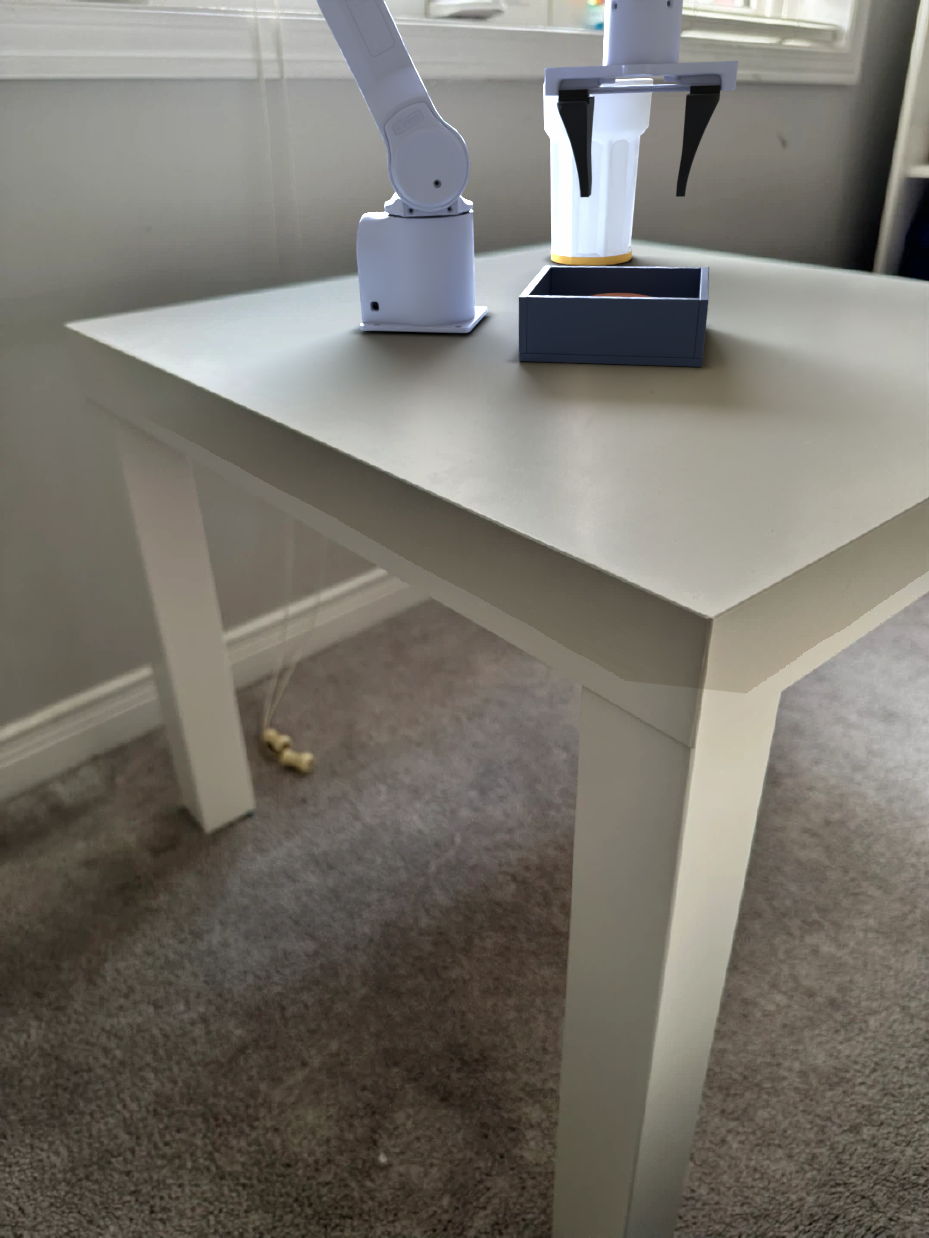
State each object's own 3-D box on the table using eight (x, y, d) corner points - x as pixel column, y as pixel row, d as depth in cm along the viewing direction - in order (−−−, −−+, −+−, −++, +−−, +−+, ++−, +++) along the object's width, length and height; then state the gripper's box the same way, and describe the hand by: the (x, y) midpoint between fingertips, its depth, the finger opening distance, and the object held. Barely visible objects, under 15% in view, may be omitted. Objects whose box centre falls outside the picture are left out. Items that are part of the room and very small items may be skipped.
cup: (644, 250, 107) (656, 78, 98) (638, 268, 97) (650, 79, 88) (548, 250, 109) (551, 81, 100) (533, 267, 100) (535, 83, 91)
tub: (518, 361, 67) (518, 296, 65) (543, 322, 77) (544, 265, 75) (701, 367, 65) (708, 300, 62) (703, 326, 75) (709, 267, 72)
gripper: (539, -3, 66) (537, 202, 73) (747, -14, 63) (724, 201, 70) (553, 2, 72) (550, 192, 79) (744, -8, 69) (723, 190, 76)
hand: (632, 195), depth 75 cm, fingers open, 7 cm apart
